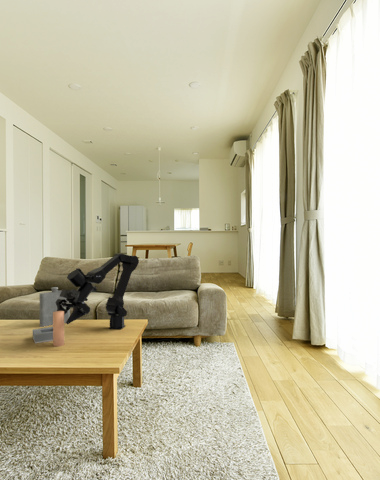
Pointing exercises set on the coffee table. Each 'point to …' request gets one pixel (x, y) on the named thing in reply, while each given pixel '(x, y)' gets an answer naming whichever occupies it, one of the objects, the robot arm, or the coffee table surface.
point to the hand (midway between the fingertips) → (60, 322)
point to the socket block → (43, 334)
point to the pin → (58, 328)
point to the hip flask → (50, 307)
